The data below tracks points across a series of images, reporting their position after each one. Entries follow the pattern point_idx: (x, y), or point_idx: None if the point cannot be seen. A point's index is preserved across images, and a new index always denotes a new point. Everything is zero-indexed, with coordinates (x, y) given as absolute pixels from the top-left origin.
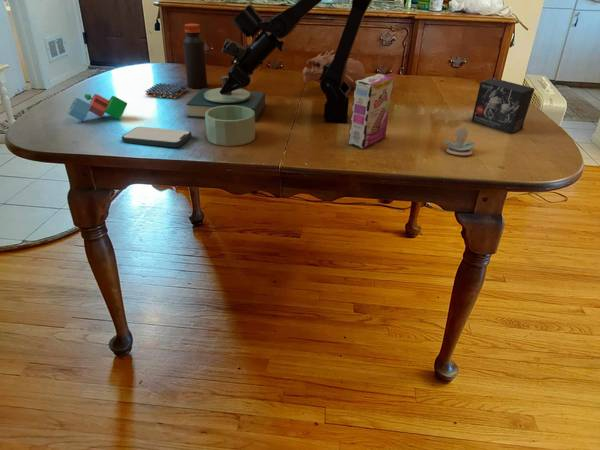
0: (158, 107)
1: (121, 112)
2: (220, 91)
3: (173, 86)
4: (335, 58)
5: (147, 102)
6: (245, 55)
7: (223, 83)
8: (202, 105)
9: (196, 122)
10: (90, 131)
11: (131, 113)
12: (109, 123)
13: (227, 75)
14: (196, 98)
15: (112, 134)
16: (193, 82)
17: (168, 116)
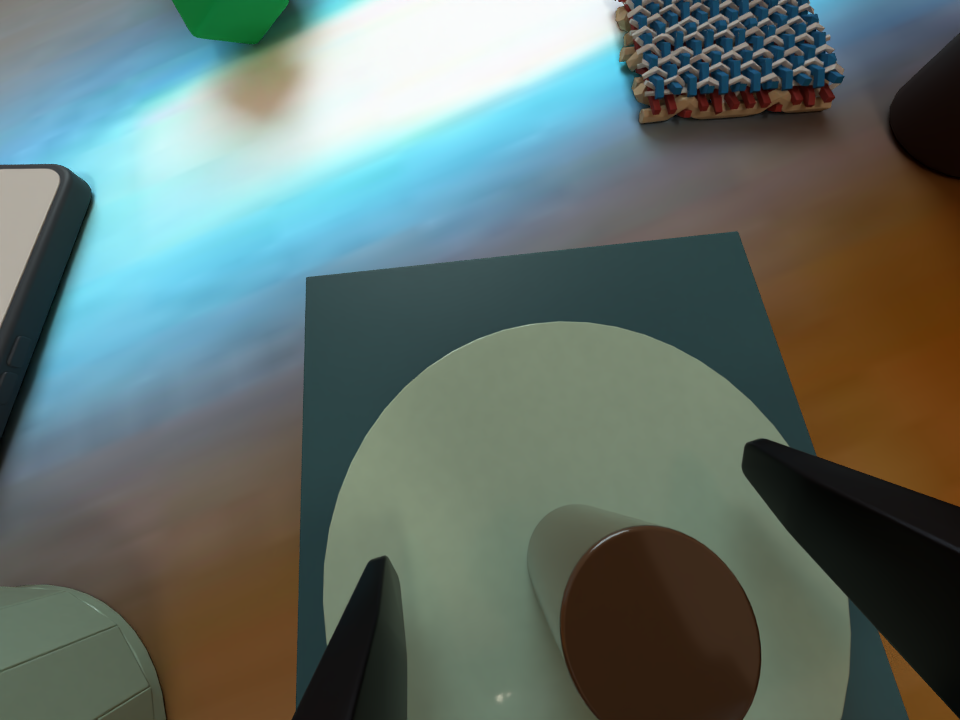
0: (471, 113)
1: (188, 23)
2: (361, 579)
3: (785, 34)
4: None
5: (530, 40)
6: None
7: (548, 569)
8: (304, 406)
9: (264, 407)
10: (90, 28)
11: (346, 53)
12: (195, 41)
13: (896, 526)
14: (458, 292)
15: (52, 111)
16: (932, 95)
17: (340, 216)
